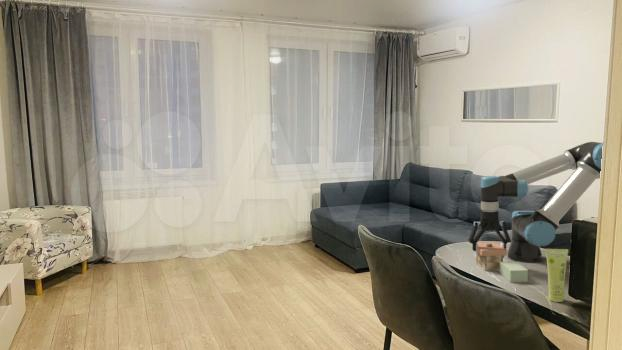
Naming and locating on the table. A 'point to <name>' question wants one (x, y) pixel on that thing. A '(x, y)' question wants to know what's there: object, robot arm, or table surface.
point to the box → (489, 262)
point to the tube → (556, 273)
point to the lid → (491, 249)
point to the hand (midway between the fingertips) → (489, 257)
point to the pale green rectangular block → (513, 272)
